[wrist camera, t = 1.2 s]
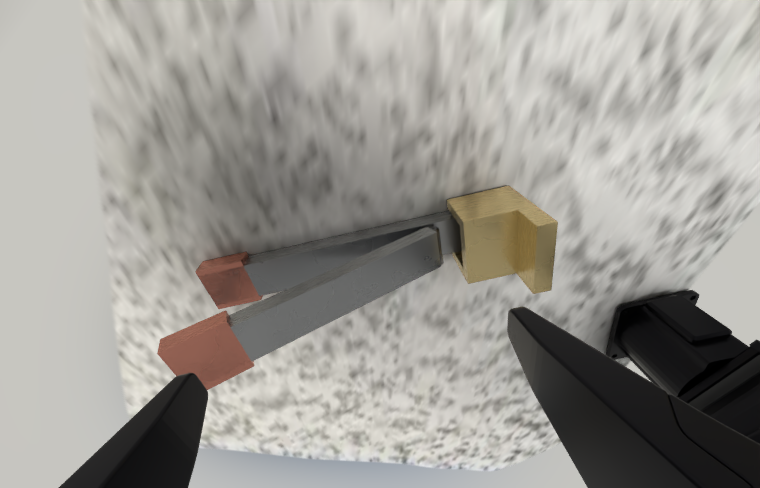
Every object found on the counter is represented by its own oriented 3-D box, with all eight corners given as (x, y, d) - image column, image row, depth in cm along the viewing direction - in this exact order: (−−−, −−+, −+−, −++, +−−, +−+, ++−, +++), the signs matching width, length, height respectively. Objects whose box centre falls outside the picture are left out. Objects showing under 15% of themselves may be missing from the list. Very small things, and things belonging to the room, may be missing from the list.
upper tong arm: (432, 218, 19) (442, 224, 18) (437, 261, 21) (447, 267, 20) (160, 339, 15) (157, 353, 14) (194, 381, 16) (193, 396, 15)
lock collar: (509, 185, 20) (557, 222, 15) (508, 243, 22) (551, 290, 17) (446, 199, 20) (476, 240, 15) (452, 255, 22) (480, 305, 17)
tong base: (507, 192, 20) (516, 199, 19) (507, 234, 22) (515, 243, 21) (203, 261, 21) (195, 271, 20) (224, 297, 22) (218, 309, 21)
